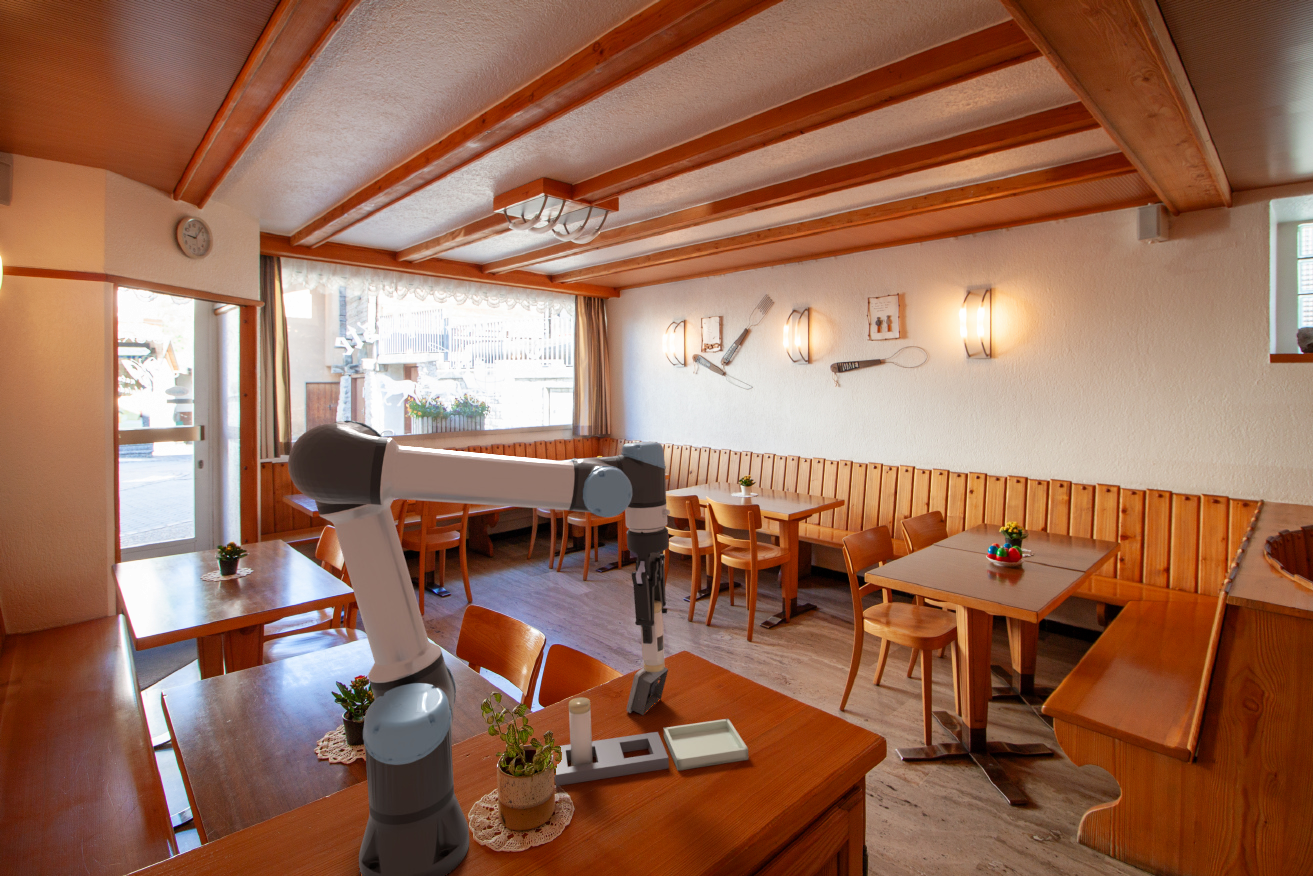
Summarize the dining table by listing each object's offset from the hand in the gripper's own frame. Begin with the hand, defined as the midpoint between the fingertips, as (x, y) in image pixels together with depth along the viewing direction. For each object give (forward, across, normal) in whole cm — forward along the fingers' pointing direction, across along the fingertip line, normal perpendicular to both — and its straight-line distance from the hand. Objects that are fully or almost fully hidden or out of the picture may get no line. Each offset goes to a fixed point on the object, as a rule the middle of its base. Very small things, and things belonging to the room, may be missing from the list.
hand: (653, 653), depth 117 cm
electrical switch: (+20, +18, +7) cm, 27 cm away
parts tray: (+20, +4, -8) cm, 21 cm away
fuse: (+19, -7, +12) cm, 24 cm away
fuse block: (+19, -4, +8) cm, 21 cm away
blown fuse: (+3, 0, 0) cm, 3 cm away
